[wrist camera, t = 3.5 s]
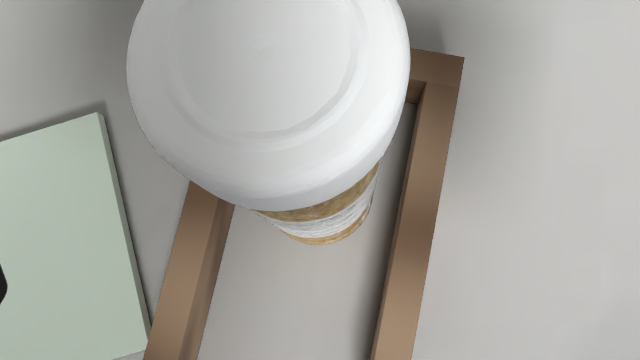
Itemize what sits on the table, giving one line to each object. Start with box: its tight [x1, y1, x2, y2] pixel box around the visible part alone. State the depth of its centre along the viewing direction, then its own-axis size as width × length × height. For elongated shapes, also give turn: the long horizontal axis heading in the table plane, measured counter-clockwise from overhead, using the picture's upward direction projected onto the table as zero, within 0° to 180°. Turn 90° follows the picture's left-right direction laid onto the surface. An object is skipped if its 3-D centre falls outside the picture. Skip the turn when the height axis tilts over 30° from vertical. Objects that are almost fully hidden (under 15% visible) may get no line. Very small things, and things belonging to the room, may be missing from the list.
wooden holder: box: [143, 48, 465, 360], centre depth 19 cm, size 14×9×2 cm, turn 168°
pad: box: [0, 112, 151, 360], centre depth 21 cm, size 10×10×1 cm
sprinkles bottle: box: [126, 0, 410, 245], centre depth 14 cm, size 5×5×14 cm
